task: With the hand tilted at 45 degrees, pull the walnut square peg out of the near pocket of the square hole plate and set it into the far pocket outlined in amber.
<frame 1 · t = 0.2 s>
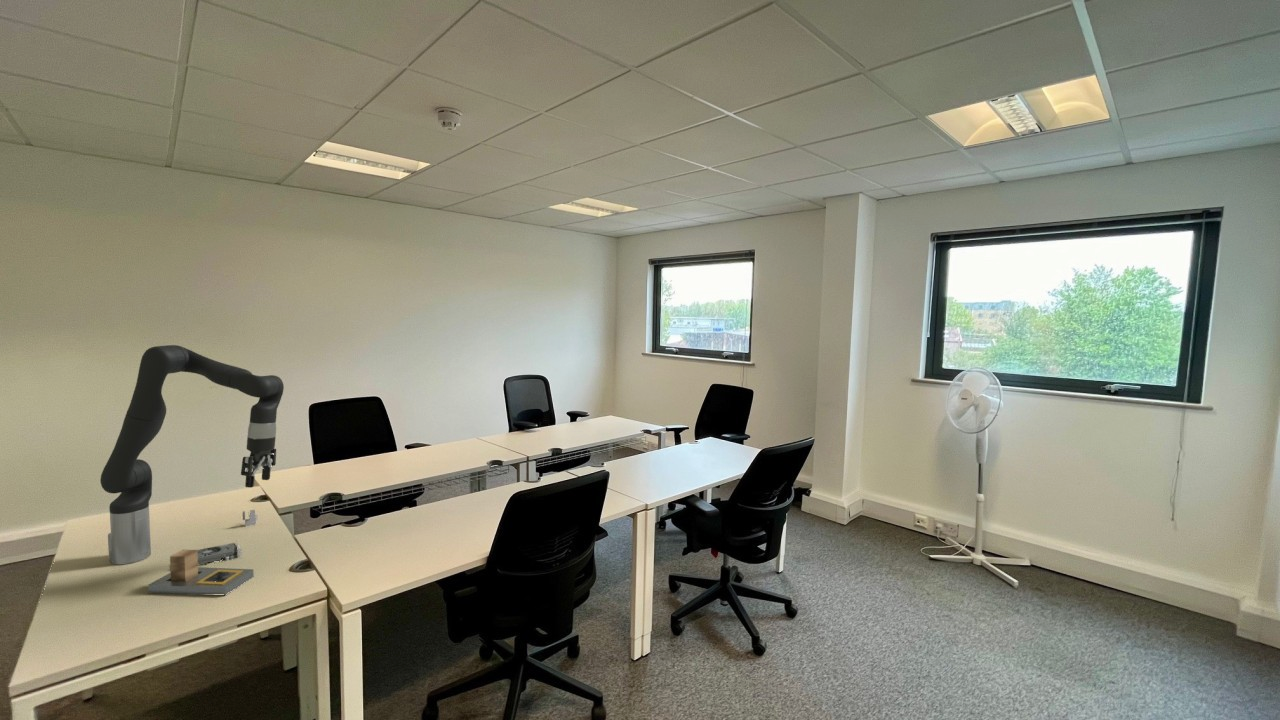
hand: (257, 483, 167), 28 cm above the table, tool pointing down, fingers open, 8 cm apart
small white bracket: (236, 526, 197), on the table
graphics card: (210, 558, 172), on the table
peg: (185, 583, 155), resting in square hole plate
square hole plate: (202, 584, 155), on the table
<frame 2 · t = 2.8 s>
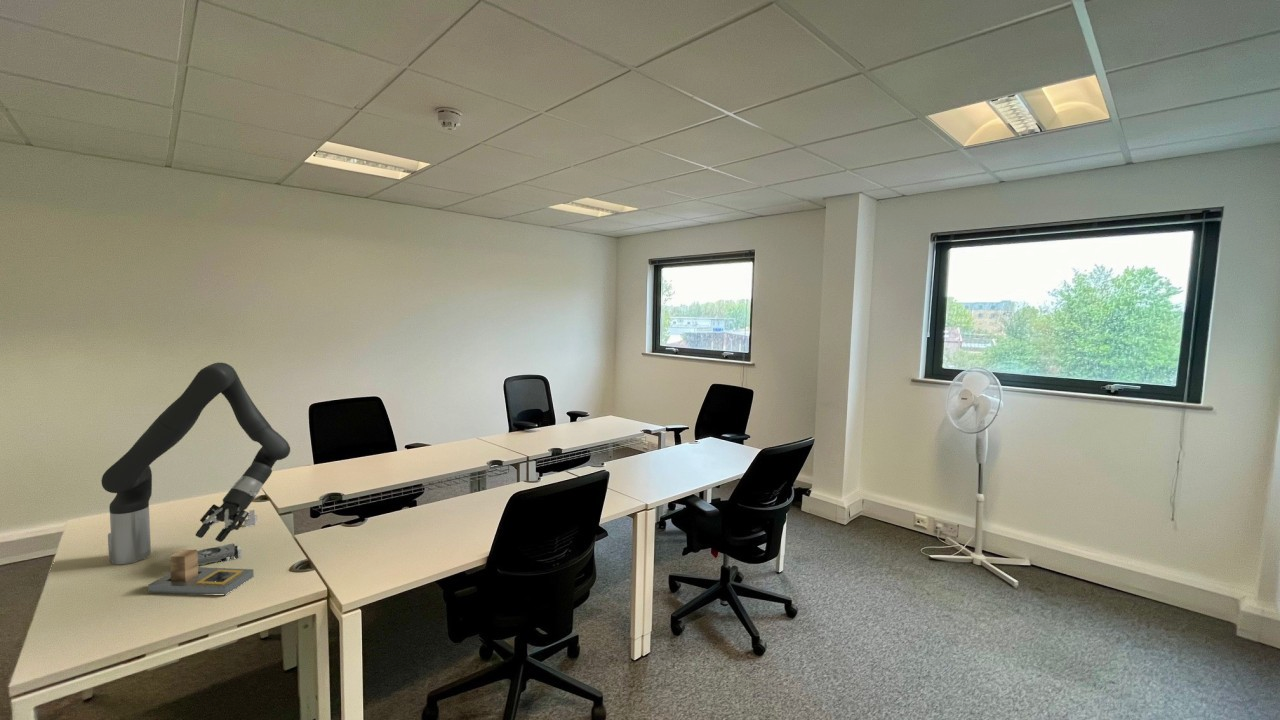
hand: (208, 538, 161), 11 cm above the table, tool tilted 45°, fingers open, 8 cm apart
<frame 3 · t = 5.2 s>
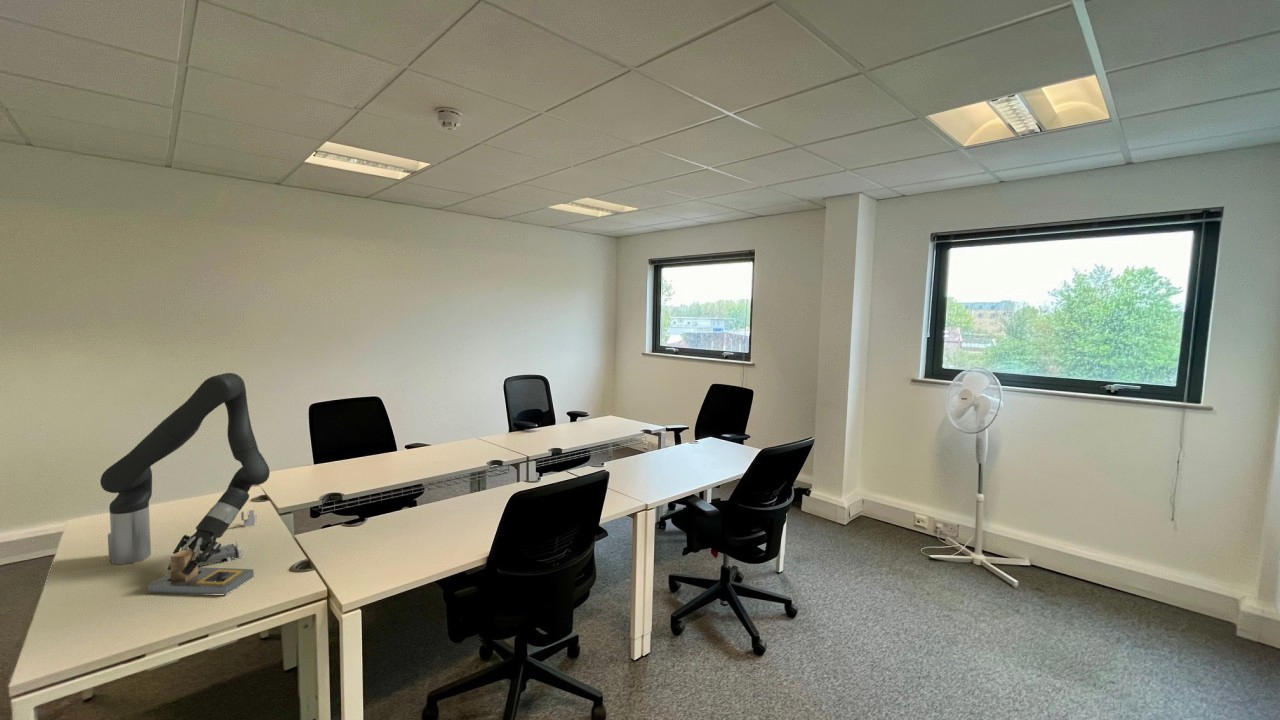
hand: (177, 572, 153), 5 cm above the table, tool tilted 45°, fingers closed on peg, 5 cm apart
peg: (185, 583, 155), resting in square hole plate, touching gripper
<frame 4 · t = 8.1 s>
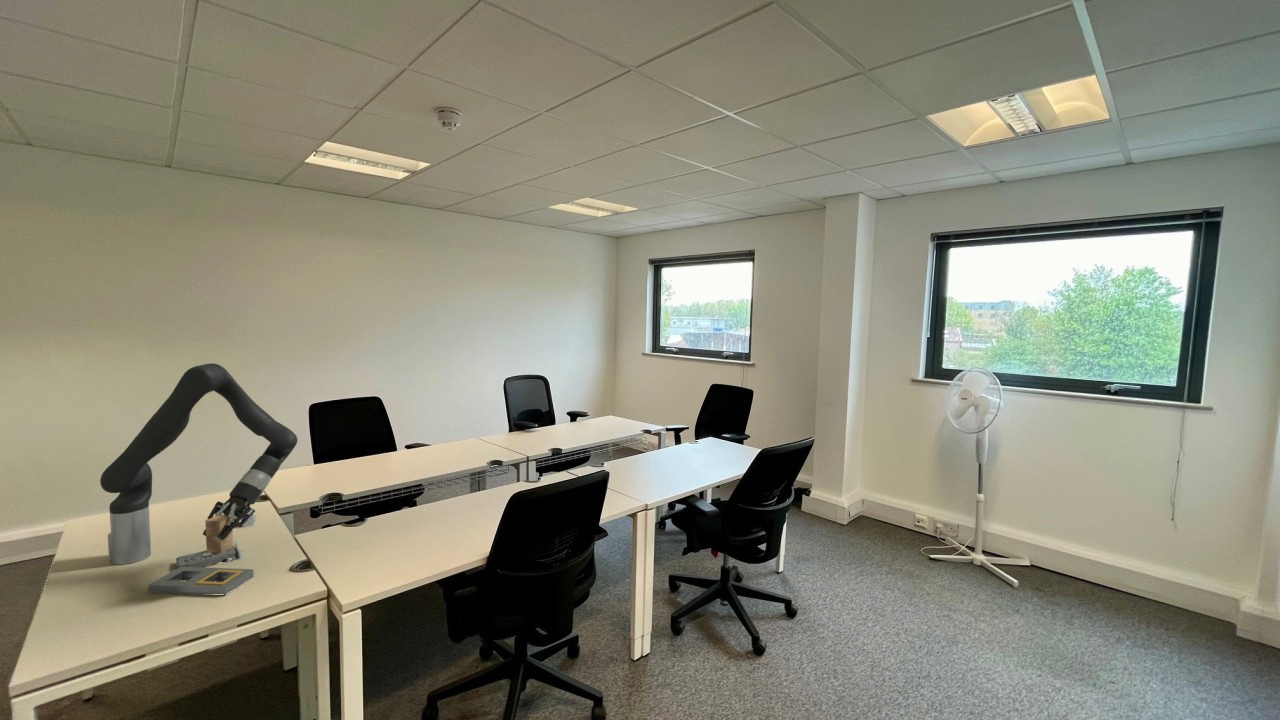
hand: (213, 537, 152), 16 cm above the table, tool tilted 45°, fingers closed on peg, 5 cm apart
peg: (220, 549, 154), point 12 cm above the table, touching gripper
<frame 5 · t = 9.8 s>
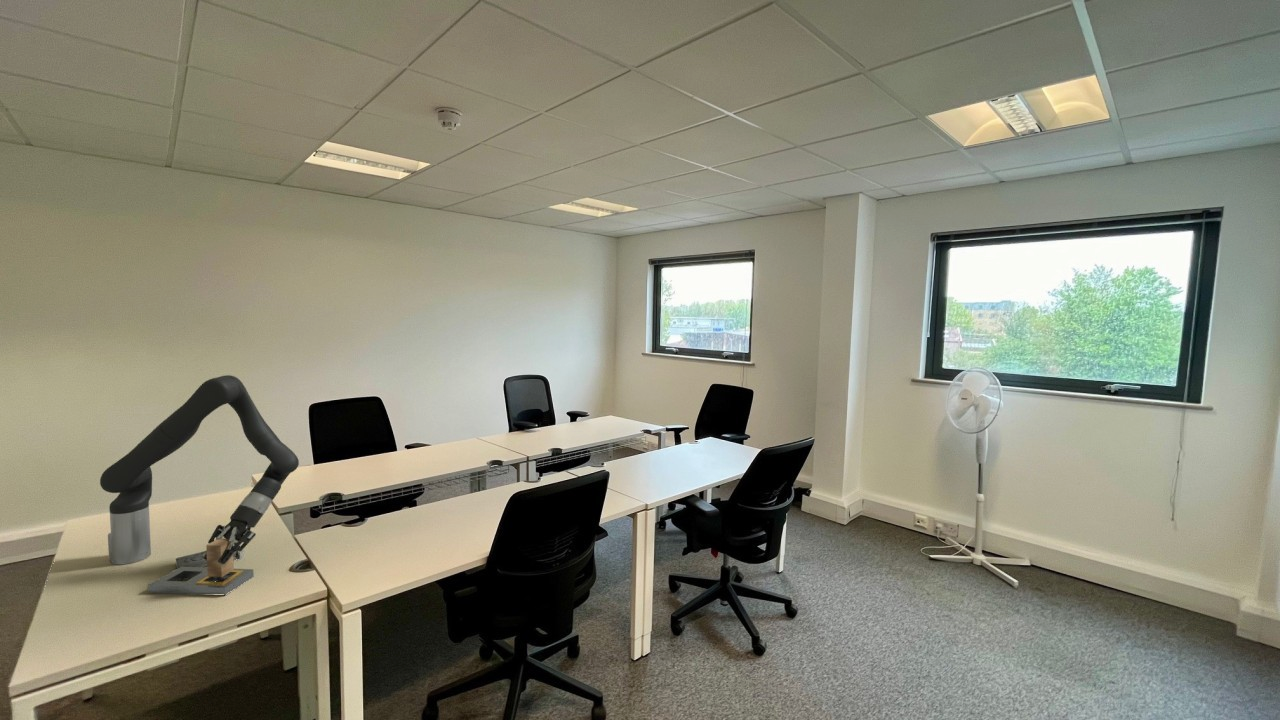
hand: (213, 561, 153), 9 cm above the table, tool tilted 45°, fingers closed on peg, 5 cm apart
peg: (220, 573, 155), point 4 cm above the table, touching gripper
when the fingers open (6 cm above the table, at t = 10.9 s): peg drops 1 cm, resting in square hole plate.
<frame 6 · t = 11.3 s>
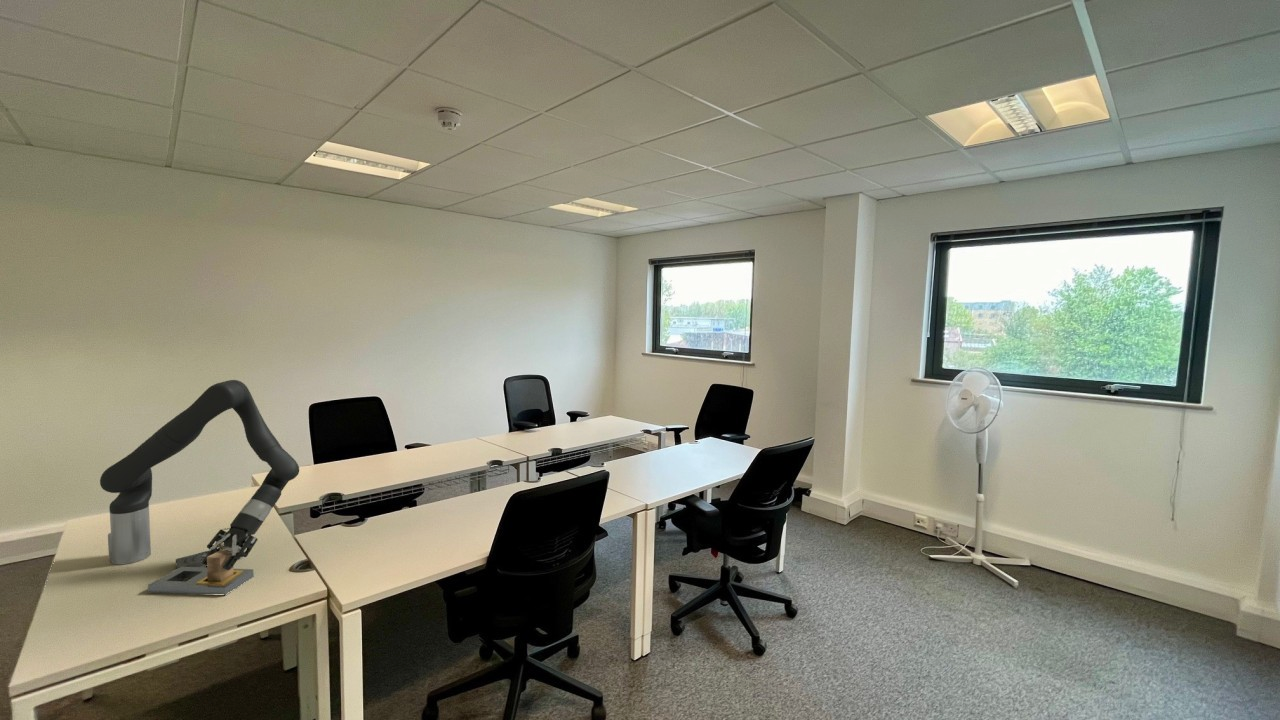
hand: (215, 566, 153), 7 cm above the table, tool tilted 45°, fingers open, 8 cm apart
peg: (221, 585, 155), resting in square hole plate
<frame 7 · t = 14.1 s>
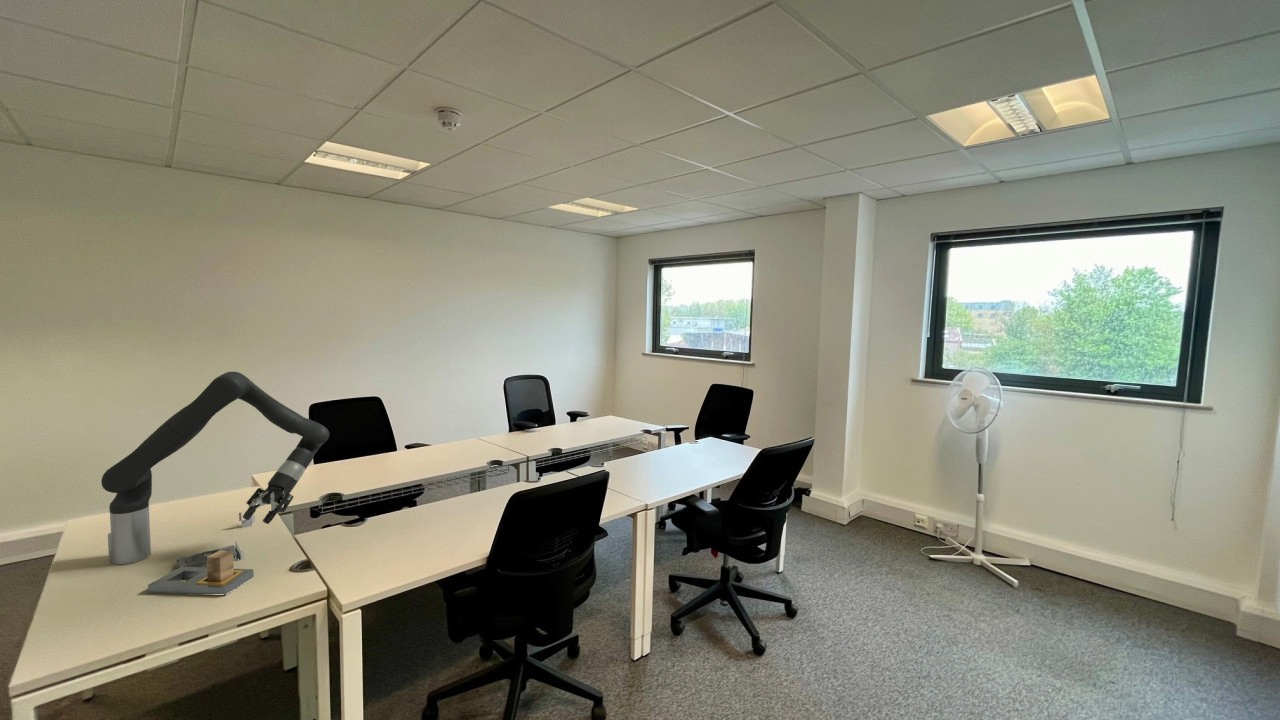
hand: (255, 520, 164), 16 cm above the table, tool tilted 45°, fingers open, 8 cm apart
graphics card: (210, 562, 170), on the table, touching square hole plate
everything else where it was.
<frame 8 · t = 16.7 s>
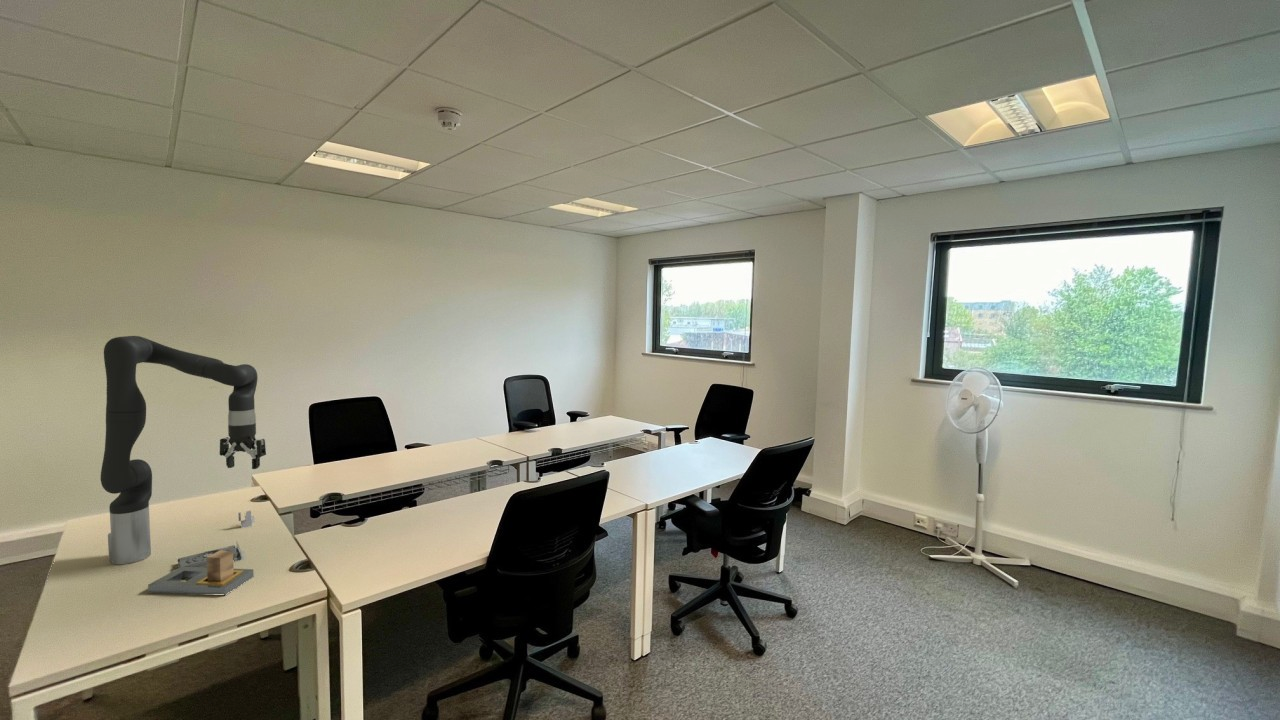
hand: (243, 468, 174), 30 cm above the table, tool pointing down, fingers open, 8 cm apart
graphics card: (211, 562, 170), on the table
at the end: peg 0.2 cm from the target spot on the square hole plate, point 0.0 cm above the square hole plate's base; peg tilted 0°; the gripper is holding nothing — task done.
